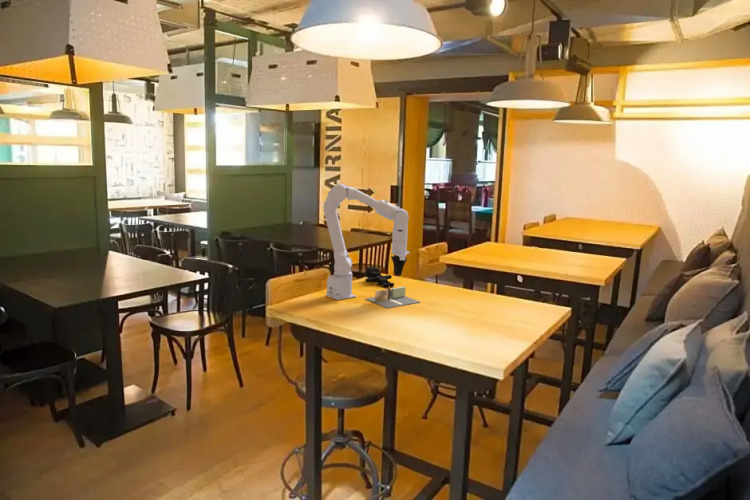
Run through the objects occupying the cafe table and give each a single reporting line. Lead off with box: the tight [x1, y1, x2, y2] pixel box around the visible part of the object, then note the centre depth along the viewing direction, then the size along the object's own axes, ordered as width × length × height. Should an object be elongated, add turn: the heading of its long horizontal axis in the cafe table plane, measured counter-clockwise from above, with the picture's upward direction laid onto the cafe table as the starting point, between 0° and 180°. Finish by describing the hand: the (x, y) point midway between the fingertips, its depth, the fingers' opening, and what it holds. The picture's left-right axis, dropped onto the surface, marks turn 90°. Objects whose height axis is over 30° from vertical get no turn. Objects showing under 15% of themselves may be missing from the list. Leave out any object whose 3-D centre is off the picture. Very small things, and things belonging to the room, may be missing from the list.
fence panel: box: [390, 286, 407, 298], centre depth 214 cm, size 7×1×4 cm, turn 126°
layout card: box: [365, 295, 421, 309], centre depth 211 cm, size 16×14×1 cm
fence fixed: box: [374, 287, 392, 301], centre depth 210 cm, size 7×1×5 cm, turn 126°
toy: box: [364, 266, 395, 289], centre depth 236 cm, size 14×6×15 cm
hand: (398, 274), depth 212 cm, fingers closed
